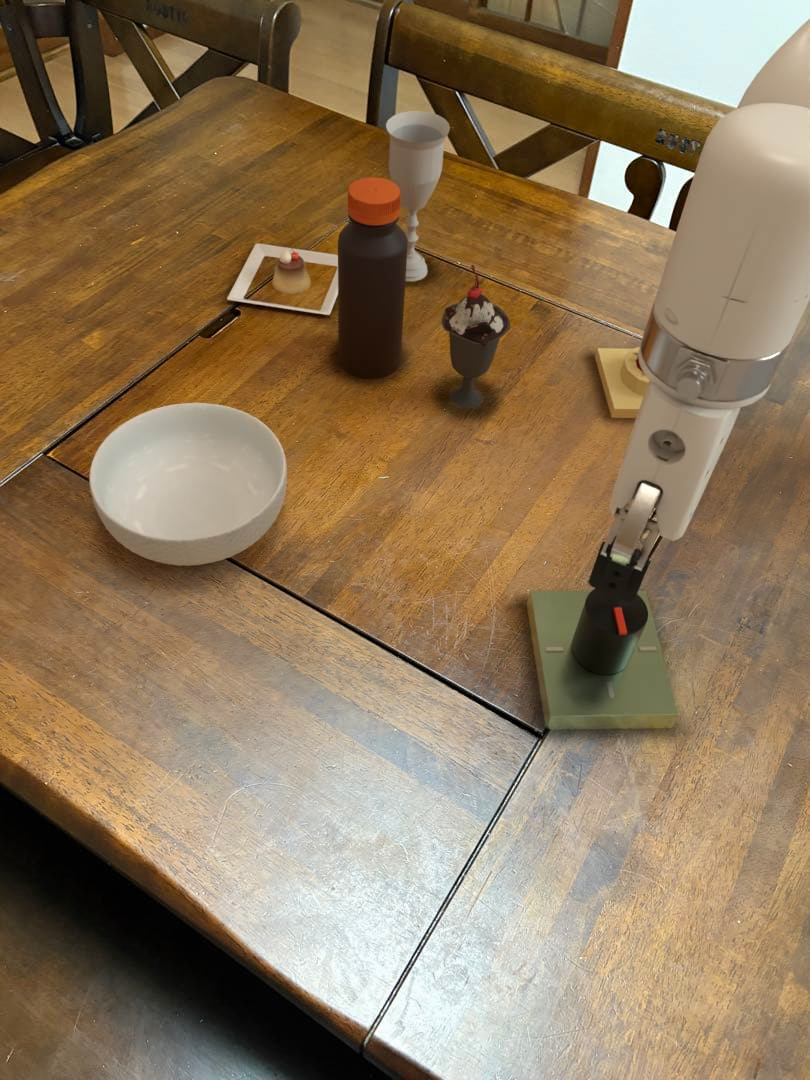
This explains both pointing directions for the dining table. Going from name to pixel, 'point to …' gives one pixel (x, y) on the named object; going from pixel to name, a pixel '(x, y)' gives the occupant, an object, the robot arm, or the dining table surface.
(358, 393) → the dining table surface
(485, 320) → the sundae
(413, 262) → the chalice
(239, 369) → the dining table surface
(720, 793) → the dining table surface
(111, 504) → the cereal bowl
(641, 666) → the panel
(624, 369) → the switch
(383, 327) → the bottle
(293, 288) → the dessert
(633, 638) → the hob knob
